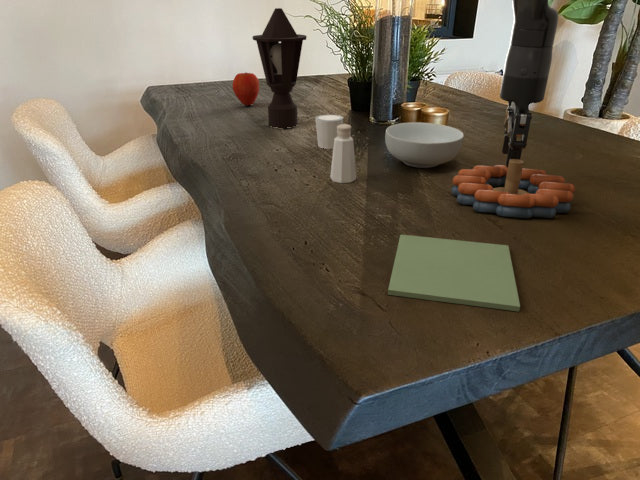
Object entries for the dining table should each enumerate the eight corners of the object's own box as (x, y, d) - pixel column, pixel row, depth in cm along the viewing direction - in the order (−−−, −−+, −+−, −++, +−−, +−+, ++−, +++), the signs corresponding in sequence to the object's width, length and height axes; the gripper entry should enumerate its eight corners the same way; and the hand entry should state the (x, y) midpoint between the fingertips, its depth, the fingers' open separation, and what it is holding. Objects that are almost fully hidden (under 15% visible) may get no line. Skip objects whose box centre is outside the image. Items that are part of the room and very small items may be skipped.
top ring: (564, 178, 94) (566, 168, 93) (584, 214, 79) (587, 203, 78) (452, 170, 98) (453, 160, 98) (451, 202, 84) (452, 192, 83)
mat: (507, 250, 73) (508, 245, 73) (519, 311, 59) (520, 306, 59) (400, 238, 77) (400, 234, 76) (387, 294, 63) (388, 289, 62)
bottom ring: (562, 188, 95) (564, 178, 94) (581, 225, 80) (584, 214, 79) (451, 179, 99) (452, 170, 98) (450, 213, 85) (451, 202, 84)
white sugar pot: (331, 140, 125) (331, 112, 122) (348, 146, 120) (349, 117, 117) (309, 144, 121) (309, 116, 118) (326, 151, 116) (326, 122, 113)
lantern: (303, 133, 131) (300, 9, 117) (250, 131, 133) (241, 9, 119) (313, 120, 143) (312, 7, 129) (265, 118, 146) (258, 7, 132)
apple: (232, 109, 157) (229, 74, 152) (237, 103, 164) (234, 69, 159) (258, 109, 156) (256, 74, 151) (262, 103, 164) (260, 69, 159)
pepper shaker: (327, 182, 98) (328, 128, 93) (332, 173, 103) (332, 121, 98) (354, 184, 97) (356, 129, 92) (357, 175, 102) (359, 122, 97)
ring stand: (529, 193, 92) (537, 155, 89) (535, 210, 86) (544, 170, 82) (485, 190, 94) (491, 152, 91) (487, 206, 87) (494, 166, 84)
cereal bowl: (439, 181, 98) (443, 147, 95) (369, 165, 107) (370, 133, 104) (472, 159, 110) (476, 128, 107) (406, 146, 119) (408, 117, 116)
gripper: (555, 80, 79) (535, 174, 87) (542, 67, 92) (525, 150, 99) (507, 78, 81) (491, 171, 89) (500, 65, 93) (487, 148, 101)
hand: (509, 160), depth 94 cm, fingers open, 8 cm apart
